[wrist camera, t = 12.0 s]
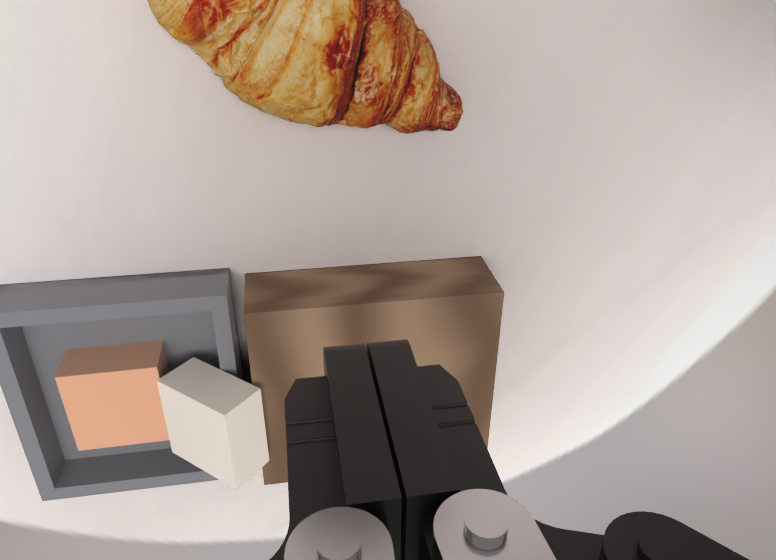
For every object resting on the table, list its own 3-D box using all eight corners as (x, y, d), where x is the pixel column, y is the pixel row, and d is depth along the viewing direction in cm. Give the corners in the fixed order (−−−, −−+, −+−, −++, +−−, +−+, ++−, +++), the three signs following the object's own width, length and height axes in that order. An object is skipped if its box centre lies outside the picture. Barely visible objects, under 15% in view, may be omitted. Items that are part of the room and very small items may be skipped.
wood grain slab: (480, 256, 45) (503, 292, 40) (467, 412, 51) (486, 457, 47) (245, 273, 42) (243, 313, 38) (264, 435, 49) (264, 484, 45)
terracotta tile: (54, 377, 39) (67, 349, 42) (78, 450, 42) (89, 420, 45) (156, 367, 40) (163, 340, 43) (173, 439, 43) (178, 410, 46)
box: (228, 268, 42) (226, 295, 39) (251, 441, 49) (250, 475, 46) (-4, 285, 40) (-25, 315, 37) (56, 463, 47) (42, 500, 44)
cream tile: (260, 388, 40) (224, 415, 37) (269, 460, 43) (236, 489, 40) (193, 357, 43) (156, 380, 40) (206, 426, 45) (172, 452, 43)
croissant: (94, -47, 35) (30, 35, 31) (136, -241, 28) (62, -174, 23) (418, 131, 43) (408, 219, 38) (516, 14, 36) (520, 104, 31)
